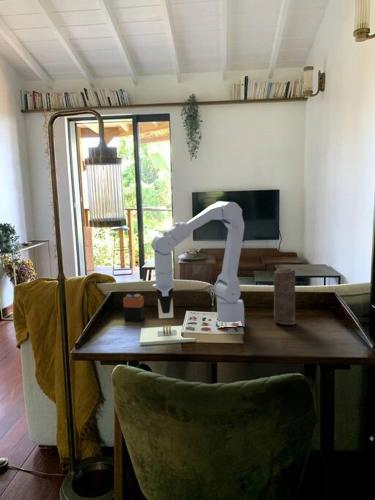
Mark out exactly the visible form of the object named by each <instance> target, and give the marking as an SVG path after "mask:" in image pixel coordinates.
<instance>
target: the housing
mask: <svg viewBox="0 0 375 500" xmlns="http://www.w3.org/2000/svg"><path fill="white" fill-rule="evenodd" d="M157 307H158V308H157V309H158V319H171V318H172V319H173V318H174V302H173V298H172V300H171V305H170V312H169V313H163V312H162V308H161V304H160V301H159V299H158V298H157Z"/></svg>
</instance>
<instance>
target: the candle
mask: <svg viewBox="0 0 375 500" xmlns="http://www.w3.org/2000/svg"><path fill="white" fill-rule="evenodd" d="M273 321H274V322H275V323H277V324H280V325H291V326H292V325H296V270H295V269H294V268H282V267H281V268H278V269H277V270H274V272H273Z"/></svg>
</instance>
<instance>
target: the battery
mask: <svg viewBox="0 0 375 500" xmlns="http://www.w3.org/2000/svg"><path fill="white" fill-rule="evenodd" d="M144 302H145V300H144V295H141V294H140V293H136V294H134V295H133V294H132V295H131V294H129V293H128V294H126V296H125V297H123V299H122V303H123V315H124V316H123V317H124V321H125V322H138V323H139V322H142V321H143V320H144V319H145V317H146V315H145V303H144Z"/></svg>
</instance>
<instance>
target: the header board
mask: <svg viewBox="0 0 375 500" xmlns="http://www.w3.org/2000/svg"><path fill="white" fill-rule="evenodd" d="M182 326H183V325H172V326H171V324H170V325H163V326H159V327H158V326H156V327H141V328H140V336H139V337H140V338H139V346H147V345H162V344H163V345H164V344H178V343H191V342H196V337H195V338H183V337H182V336H181V330H182Z"/></svg>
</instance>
